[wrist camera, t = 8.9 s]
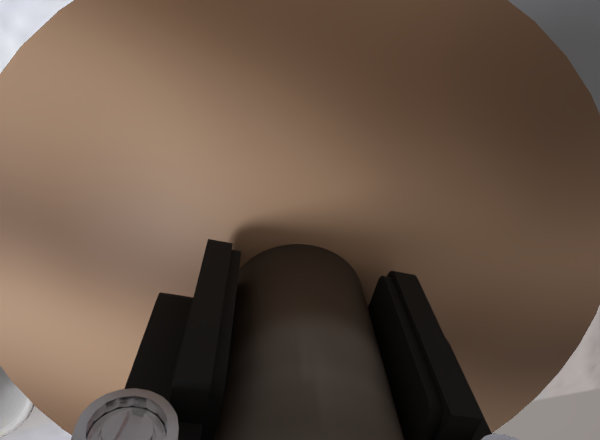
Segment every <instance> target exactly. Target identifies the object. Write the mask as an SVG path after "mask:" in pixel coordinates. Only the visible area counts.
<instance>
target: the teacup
mask: <svg viewBox="0 0 600 440" xmlns="http://www.w3.org/2000/svg"><path fill="white" fill-rule="evenodd" d="M33 407H34V404H33V403H32V402H31V401H30V400H29V399H28V398H27V397H26V396H25V395H24V394H23V393H22V392H21V390H20V389H19V388H18V387H17V386H16V385H15V384H14V383H13V382H12V381H11V379H10V378H9V377H8V375H7V374H6V373H5V371H4V370H3V369H2V367H1V366H0V438H1V437H3V436H5V435H7V434H9V433H10V432H12V431H14V430H15V429H17V428H18V427H19V426H20V425H22V423H23V422H24V421H25V420H26V419H27V418H28V417H29V415H30V413H31V412H32V409H33Z"/></svg>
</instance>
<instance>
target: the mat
mask: <svg viewBox="0 0 600 440" xmlns="http://www.w3.org/2000/svg"><path fill="white" fill-rule="evenodd" d="M508 1H509V2H511V3H512V4H513V5H514V6H516V7H517V8H518V9H520V10H521V11H522V12H523V13H525V14H526V15H527V16H529V17H530V18H531V19H532V20H534V21H535V22H536V23H537V24H538V26H539V27H540V28H541V29H542V30H543V31H544V32H545V33H546V34H547V35H548V37H549V38H550V39H551V40H552V41H553V42H554V43H555V44H556V45H557V46H558V47H559V49H560V50H561V51H562V52H563V53H564V54H565V55H566V56H567V58H568V59H569V61H570V62H571V64H572V65H573V67H574V68H575V70H576V72H577V73H578V75H579V76H580V78H581V79H582V81H583V83H584V84H585V86H586V87H587V89H588V90H589V92H590V93H591V95H592V98H593V100H594V102H595V105H596V107H597V109H598V112H599V114H600V0H508Z"/></svg>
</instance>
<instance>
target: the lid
mask: <svg viewBox="0 0 600 440" xmlns="http://www.w3.org/2000/svg"><path fill="white" fill-rule="evenodd" d="M208 239H212V240H217V241H223V242H229V243H233V244H232V250H237V251H241V258H240V266H239V275H238V283H237V292H236V300H235V309H234V317H233V325H232V334H231V342H230V351H229V359H228V367H227V375H226V382H225V388H224V393H223V398H222V403H221V407H220V412H219V417H218V421H217V426H216V430H215V435H214V439H213V440H404V436H403V433H402V429H401V425H400V422H399V418H398V415H397V411H396V407H395V404H394V400H393V397H392V393H391V389H390V386H389V382H388V378H387V375H386V371H385V368H384V364H383V360H382V357H381V353H380V350H379V346H378V342H377V339H376V335H375V331H374V328H373V324H372V321H371V317H370V313H369V310H368V306H369V304H370V301H371V298H372V295H373V293H374V290H375V287H376V285H377V282H378V280H379V278H380V276H382V275H383V276H387V274H388V273H389V272H390V271H396V272H402V273H407V274H413V275H416V277H417V278H418V280H419V282H420V285H421V287H422V289H423V291H424V293H425V295H426V297H427V300H428V302H429V304H430V306H431V308H432V310H433V312H434V315H435V317H436V319H437V321H438V323H439V325H440V327H441V330H442V332H443V334H444V336H445V338H446V339H447V341H448V342H449V344H450V346H451V348H452V350H453V352H454V354H455V356H456V358H457V361H458V363H459V365H460V367H461V369H462V371H463V373H464V375H465V378H466V380H467V382H468V384H469V386H470V388H471V390H472V392H473V395H474V397H475V399H476V401H477V403H478V405H479V407H480V409H481V412H482V414H483V416H484V418H485V420H486V422H487V424H488V426H489V429H490V431H491V433H492V432H494V431H495V430H497V429H498V428H500V427H501V426H502V425H504V424H505V423H506V422H508V421H509V420H510V419H512V418H513V417H514V416H515V415H516V414H518V413H519V412H520V411H521V410H522V409H523V408H524V407H525V406H527V405H528V404H529V403H530V402H531V401H532V400H533V399H535V398H536V397H537V396H538V395H539V394H540V392H541V391H542V390H543V389H544V388H545V387H546V386H547V385H548V384H549V383H550V382H551V380H552V379H553V378H554V377H555V376H556V375H557V374H558V373H559V372H560V370H561V369H562V367H563V366H564V365H565V363H566V362H567V361H568V359H569V358H570V356H571V355H572V354H573V352H574V351H575V350H576V348H577V347H578V345H579V344H580V342H581V340H582V338H583V336H584V335H585V333H586V331H587V329H588V327H589V326H590V324H591V322H592V320H593V318H594V317H595V315H596V312H597V310H598V307H599V305H600V114H599V112H598V109H597V107H596V105H595V102H594V100H593V98H592V95H591V93H590V92H589V90H588V89H587V87H586V86H585V84H584V83H583V81H582V79H581V78H580V76H579V75H578V73H577V72H576V70H575V68H574V67H573V65H572V64H571V62H570V61H569V59H568V58H567V56H566V55H565V54H564V53H563V52H562V51H561V50H560V49H559V47H558V46H557V45H556V44H555V43H554V42H553V41H552V40H551V39H550V38H549V37H548V35H547V34H546V33H545V32H544V31H543V30H542V29H541V28H540V27H539V26H538V24H537V23H536V22H535V21H534V20H532V19H531V18H530V17H529V16H527V15H526V14H525V13H523V12H522V11H521V10H520V9H518V8H517V7H516V6H514V5H513V4H512V3H511V2H509V1H508V0H74V1H73V2H71V3H70V4H68V5H67V6H65V7H64V8H62V9H61V10H59V11H58V12H57V13H56V14H55V15H54V16H53V17H52V18H51V19H50V20H49V21H48V22H46V23H45V24H44V25H43V26H42V27H41V28H40V29H39V30H38V31H37V32H36V33H35V34H34V35H33V36H32V37H31V38H29V39H28V40H27V41H26V42H25V43H24V44H23V45H22V46H21V47H20V48H19V50H18V51H17V52H16V54H15V55H14V56H13V58H12V59H11V60H10V62H9V63H8V64H7V66H6V67H5V68H4V70H3V71H2V72H1V74H0V366H1V367H2V369H3V370H4V371H5V373H6V374H7V375H8V377H9V378H10V379H11V381H12V382H13V383H14V384H15V385H16V386H17V387H18V388H19V389H20V390H21V392H22V393H23V394H24V395H25V396H26V397H27V398H28V399H29V400H30V401H31V402H32V403H33V404H34V405H35V406H36V407H37V408H38V409H39V410H40V411H42V412H43V413H44V414H45V415H46V416H48V417H49V418H50V419H51V420H52V421H54V422H55V423H56V424H57V425H58V426H60V427H61V428H62V429H63V430H65V431H66V432H68V433H69V434H71V435H73V431H74V428H75V425H76V423H77V421H78V419H79V417H80V415H81V413H82V412H83V411H84V410H85V409H86V408H87V407H88V406H89V405H90V404H91V403H92V402H93V401H95V400H96V399H98V398H100V397H101V396H103V395H105V394H107V393H110V392H114V391H117V390H120V389H124V388H125V385H126V383H127V380H128V377H129V374H130V371H131V369H132V366H133V363H134V360H135V358H136V355H137V352H138V349H139V346H140V344H141V341H142V338H143V335H144V333H145V330H146V327H147V324H148V322H149V319H150V316H151V313H152V310H153V308H154V305H155V302H156V299H157V297H158V295H159V293H160V292H162V293H168V294H175V295H181V296H188V297H194V293H195V289H196V285H197V281H198V277H199V273H200V269H201V265H202V261H203V257H204V253H205V249H206V245H207V241H208Z"/></svg>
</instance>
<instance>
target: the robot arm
mask: <svg viewBox="0 0 600 440" xmlns="http://www.w3.org/2000/svg"><path fill="white" fill-rule="evenodd" d="M232 244H233V243H229V242H223V241H217V240H212V239H208V241H207V245H206V249H205V253H204V257H203V261H202V265H201V269H200V273H199V277H198V281H197V285H196V289H195V293H194V297H188V296H181V295H175V294H168V293H162V292H160V293H159V295H158V297H157V299H156V302H155V305H154V308H153V310H152V313H151V316H150V319H149V322H148V324H147V327H146V330H145V333H144V335H143V338H142V341H141V344H140V346H139V349H138V352H137V355H136V358H135V360H134V363H133V366H132V369H131V371H130V374H129V377H128V380H127V383H126V385H125V388H124V389H120V390H117V391H114V392H110V393H107V394H105V395H103V396H101V397H100V398H98V399H96V400H95V401H93V402H92V403H91V404H90V405H89V406H88V407H87V408H86V409H85V410H84V411H83V412H82V413H81V415H80V417H79V419H78V421H77V423H76V425H75V428H74V431H73V435H72V438H71V440H213V439H214V435H215V430H216V426H217V421H218V417H219V412H220V407H221V403H222V398H223V393H224V388H225V382H226V375H227V367H228V359H229V351H230V342H231V334H232V325H233V317H234V309H235V300H236V292H237V283H238V275H239V266H240V258H241V251H237V250H232ZM368 310H369V313H370V317H371V321H372V324H373V328H374V331H375V335H376V339H377V342H378V346H379V350H380V353H381V357H382V360H383V364H384V368H385V371H386V375H387V378H388V382H389V386H390V389H391V393H392V397H393V400H394V404H395V407H396V411H397V415H398V418H399V422H400V425H401V429H402V433H403V436H404V440H519V439H517V438H514V437H511V436H508V435H505V434H492V433H491V431H490V429H489V426H488V424H487V422H486V420H485V418H484V416H483V414H482V412H481V409H480V407H479V405H478V403H477V401H476V399H475V397H474V395H473V392H472V390H471V388H470V386H469V384H468V382H467V380H466V378H465V375H464V373H463V371H462V369H461V367H460V365H459V363H458V361H457V358H456V356H455V354H454V352H453V350H452V348H451V346H450V344H449V342H448V341H447V339H446V338H445V336H444V334H443V332H442V330H441V327H440V325H439V323H438V321H437V319H436V317H435V315H434V312H433V310H432V308H431V306H430V304H429V302H428V300H427V297H426V295H425V293H424V291H423V289H422V287H421V285H420V282H419V280H418V278H417V277H416V275H413V274H407V273H402V272H396V271H390V272H389V273H388V274H387V276H383V275H382V276H380V278H379V280H378V282H377V285H376V287H375V290H374V293H373V295H372V298H371V301H370V304H369V306H368Z"/></svg>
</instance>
